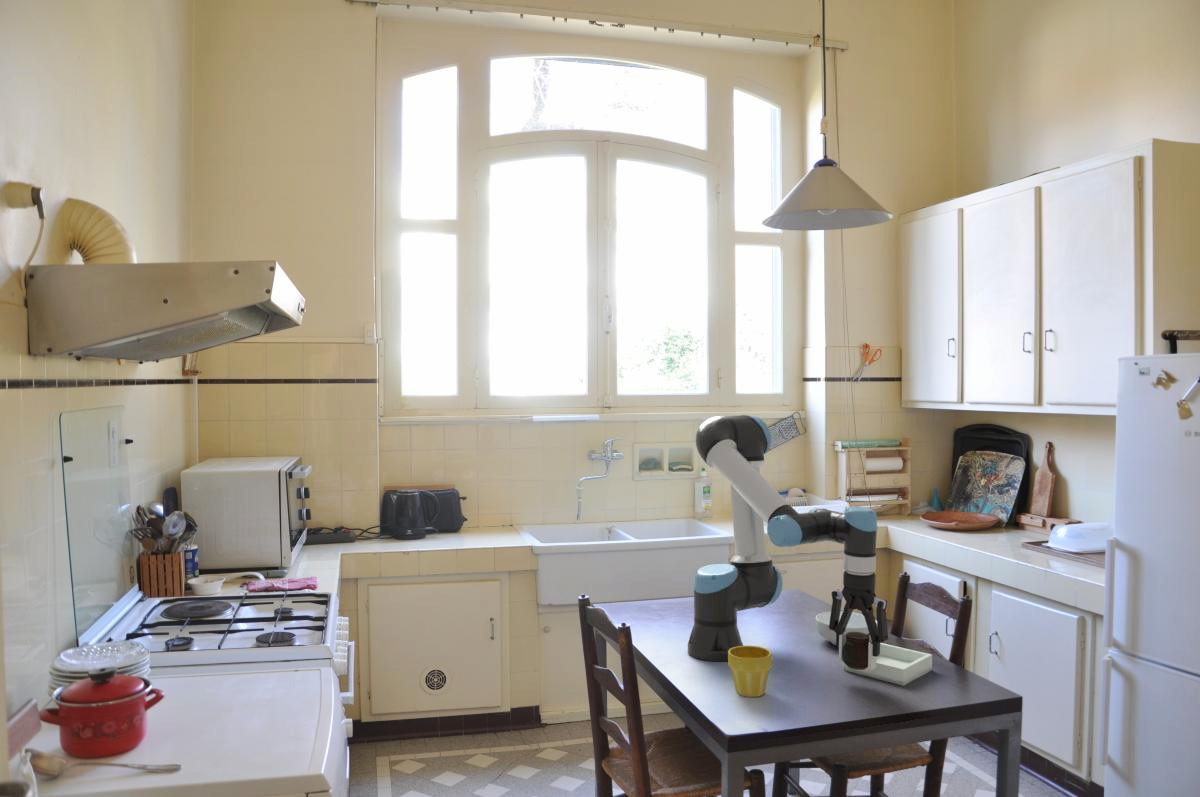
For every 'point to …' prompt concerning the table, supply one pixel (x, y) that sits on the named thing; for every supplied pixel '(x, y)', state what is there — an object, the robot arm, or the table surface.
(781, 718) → the table surface
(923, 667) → the open box
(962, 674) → the table surface
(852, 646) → the mate gourd
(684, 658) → the table surface
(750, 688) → the plant pot
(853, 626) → the cereal bowl
